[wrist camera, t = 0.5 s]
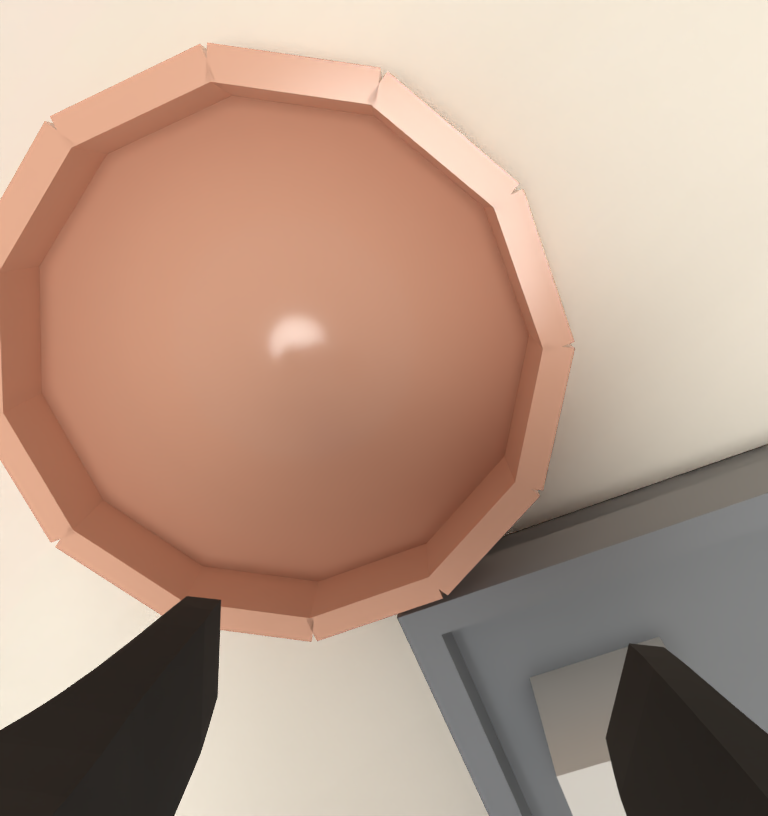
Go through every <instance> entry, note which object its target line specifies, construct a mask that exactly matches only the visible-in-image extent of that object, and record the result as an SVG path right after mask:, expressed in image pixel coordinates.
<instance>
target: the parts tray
mask: <svg viewBox="0 0 768 816" xmlns="http://www.w3.org/2000/svg"><path fill="white" fill-rule="evenodd" d="M442 596H443V599H440V600H437V601H434V602H431V603H428V604H425V605H422V606H419V607H416V608H413V609H410V610H407V611H404V612H402V613H399V614H397V618H398V621H399V623H400V625H401V627H402V629H403V631H404V633H405V636H406V638H407V640H408V642H409V644H410V646H411V649H412V651H413V653H414V655H415V657H416V659H417V661H418V664H419V666H420V668H421V670H422V672H423V674H424V677H425V679H426V681H427V683H428V685H429V687H430V689H431V692H432V694H433V696H434V698H435V700H436V702H437V705H438V707H439V709H440V711H441V713H442V715H443V717H444V720H445V722H446V724H447V726H448V728H449V730H450V733H451V735H452V737H453V739H454V741H455V743H456V745H457V748H458V750H459V752H460V754H461V756H462V758H463V761H464V763H465V765H466V767H467V769H468V771H469V773H470V776H471V778H472V780H473V782H474V784H475V786H476V789H477V791H478V793H479V795H480V797H481V799H482V801H483V804H484V806H485V808H486V810H487V812H488V814H489V816H573V815H572V812H571V810H570V807H569V805H568V803H567V800H566V798H565V795H564V793H563V791H562V788H561V786H560V784H559V781H558V779H557V776H556V773H555V769H554V765H553V762H552V758H551V754H550V751H549V747H548V743H547V739H546V736H545V732H544V728H543V725H542V721H541V717H540V714H539V710H538V706H537V703H536V699H535V695H534V692H533V688H532V684H531V681H530V677H533V676H537V675H540V674H543V673H546V672H549V671H552V670H556V669H559V668H562V667H565V666H568V665H571V664H574V663H578V662H581V661H584V660H587V659H590V658H593V657H597V656H600V655H603V654H606V653H609V652H612V651H616V650H619V649H622V648H625V647H628V645H629V643H631V644H638V643H641V642H644V641H647V640H650V639H653V638H657V637H660V639H661V640H662V642H663V644H664V645H665V647H666V649H667V650H668V651H670V652H671V653H672V654H674V655H675V656H676V657H677V658H679V659H680V660H681V661H682V662H684V663H685V664H686V665H687V666H688V667H690V668H691V669H692V670H693V671H694V672H695V673H697V674H698V675H699V676H700V677H701V678H703V679H704V680H705V681H706V682H707V683H708V684H710V685H711V686H712V687H713V688H714V689H715V690H717V691H718V692H719V693H720V694H721V695H722V696H724V697H725V698H726V699H727V700H728V701H729V702H731V703H732V704H733V705H734V706H735V707H736V708H738V709H739V710H740V711H741V712H742V713H744V714H745V715H746V716H747V717H748V718H749V719H751V720H752V721H753V722H754V723H755V724H757V725H758V726H759V727H760V728H761V729H763V730H764V731H765V732H766V733H768V445H765V446H762V447H760V448H757V449H754V450H751V451H748V452H745V453H742V454H739V455H737V456H734V457H731V458H728V459H725V460H722V461H719V462H716V463H714V464H711V465H708V466H705V467H702V468H699V469H696V470H693V471H691V472H688V473H685V474H682V475H679V476H676V477H673V478H671V479H668V480H665V481H662V482H659V483H656V484H653V485H650V486H648V487H645V488H642V489H639V490H636V491H633V492H630V493H627V494H625V495H622V496H619V497H616V498H613V499H610V500H607V501H604V502H602V503H599V504H596V505H593V506H590V507H587V508H584V509H581V510H579V511H576V512H573V513H570V514H567V515H564V516H561V517H559V518H556V519H553V520H550V521H547V522H544V523H541V524H538V525H536V526H533V527H530V528H527V529H524V530H521V531H518V532H515V533H513V534H510V535H507V536H504V537H502V538H501V539H500V540H499V541H498V542H497V543H496V544H495V545H494V546H493V547H492V548H491V549H490V550H489V552H488V553H487V554H486V555H485V556H484V557H483V558H482V559H481V560H480V561H479V562H478V563H477V564H476V566H475V567H474V568H473V569H472V570H471V571H470V572H469V573H468V574H467V575H466V576H465V577H464V578H463V579H462V581H461V582H460V583H459V584H458V585H457V586H456V587H455V588H454V589H453V590H452V591H451V592H450V593H449V595H446V594H445V593H444V592H442Z"/></svg>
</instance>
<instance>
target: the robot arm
mask: <svg viewBox="0 0 768 816" xmlns="http://www.w3.org/2000/svg"><path fill="white" fill-rule="evenodd" d="M220 618H221V600H219V599H210V598H201V597H191V596H186V597H185V598H184V599H182V600H181V601H180V602H178V603H177V604H176V605H175V606H173V607H172V608H171V609H170V610H168V611H167V612H166V613H165V614H163V615H162V616H161V617H160V618H159V619H157V620H156V621H155V622H154V623H153V624H151V625H150V626H149V627H148V628H146V629H145V630H144V631H143V632H142V633H140V634H139V635H138V636H137V637H135V638H134V639H133V640H132V641H130V642H129V643H128V644H126V645H125V646H124V647H123V648H121V649H120V650H119V651H117V652H116V653H115V654H114V655H112V656H111V657H110V658H108V659H107V660H106V661H105V662H103V663H102V664H101V665H99V666H98V667H97V668H95V669H94V670H93V671H91V672H90V673H88V674H87V675H85V676H84V677H83V678H81V679H80V680H78V681H77V682H76V683H74V684H73V685H71V686H70V687H68V688H67V689H66V690H64V691H63V692H61V693H60V694H58V695H57V696H56V697H54V698H52V699H51V700H49V701H48V702H46V703H45V704H43V705H42V706H40V707H38V708H37V709H35V710H34V711H32V712H30V713H29V714H27V715H25V716H24V717H22V718H20V719H19V720H17V721H15V722H13V723H12V724H10V725H8V726H7V727H5V728H3V729H2V730H0V816H174V815H175V812H176V810H177V808H178V805H179V803H180V801H181V799H182V796H183V794H184V791H185V789H186V787H187V784H188V782H189V780H190V777H191V775H192V773H193V770H194V768H195V765H196V763H197V761H198V758H199V756H200V753H201V750H202V747H203V744H204V741H205V737H206V734H207V731H208V728H209V724H210V721H211V717H212V714H213V710H214V707H215V703H216V700H217V695H218V669H219V644H220ZM606 742H607V747H608V751H609V755H610V760H611V764H612V769H613V773H614V776H615V780H616V784H617V788H618V792H619V796H620V799H621V802H622V804H623V807H624V810H625V813H626V815H627V816H768V733H766V732H765V731H764V730H763V729H761V728H760V727H759V726H758V725H757V724H755V723H754V722H753V721H752V720H751V719H749V718H748V717H747V716H746V715H745V714H744V713H742V712H741V711H740V710H739V709H738V708H736V707H735V706H734V705H733V704H732V703H731V702H729V701H728V700H727V699H726V698H725V697H724V696H722V695H721V694H720V693H719V692H718V691H717V690H715V689H714V688H713V687H712V686H711V685H710V684H708V683H707V682H706V681H705V680H704V679H703V678H701V677H700V676H699V675H698V674H697V673H695V672H694V671H693V670H692V669H691V668H690V667H688V666H687V665H686V664H685V663H684V662H682V661H681V660H680V659H679V658H677V657H676V656H675V655H674V654H672V653H671V652H670V651H668V650H667V649H666V648H664V647H659V646H649V645H640V644H631V643H629V645H628V649H627V653H626V657H625V661H624V665H623V670H622V674H621V678H620V682H619V686H618V690H617V694H616V698H615V702H614V706H613V710H612V714H611V718H610V722H609V726H608V730H607V734H606Z"/></svg>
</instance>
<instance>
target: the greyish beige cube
mask: <svg viewBox="0 0 768 816" xmlns="http://www.w3.org/2000/svg"><path fill="white" fill-rule="evenodd" d="M638 644H640V645H649V646H659V647H664V648H666V647H665V645H664V644H663V642H662V640H661V639H660V637H657V638H653V639H650V640H647V641H644V642H641V643H638ZM627 649H628V647H625V648H622V649H619V650H616V651H612V652H609V653H606V654H603V655H600V656H597V657H593V658H590V659H587V660H584V661H581V662H578V663H574V664H571V665H568V666H565V667H562V668H559V669H556V670H552V671H549V672H546V673H543V674H540V675H537V676H533V677H530V681H531V684H532V688H533V692H534V695H535V699H536V703H537V706H538V710H539V714H540V717H541V721H542V725H543V728H544V732H545V736H546V739H547V743H548V747H549V751H550V754H551V758H552V762H553V765H554V769H555V773H556V776H557V779H558V781H559V784H560V786H561V788H562V791H563V793H564V795H565V798H566V800H567V803H568V805H569V807H570V810H571V812H572V815H573V816H627V815H626V813H625V810H624V807H623V804H622V802H621V799H620V796H619V792H618V788H617V784H616V780H615V776H614V773H613V769H612V764H611V760H610V755H609V751H608V747H607V742H606V734H607V730H608V726H609V722H610V718H611V714H612V710H613V706H614V702H615V698H616V694H617V690H618V686H619V682H620V678H621V674H622V670H623V665H624V661H625V657H626V653H627Z"/></svg>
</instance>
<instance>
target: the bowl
mask: <svg viewBox="0 0 768 816" xmlns="http://www.w3.org/2000/svg"><path fill="white" fill-rule="evenodd" d="M50 117H51V119H52V121H53V123H50V122H46V121H45V122H44V124H43V125H42V127H41V129H40V131H39V132H38V134H37V136H36V138H35V139H34V141H33V143H32V145H31V147H30V148H29V150H28V152H27V154H26V155H25V157H24V159H23V161H22V162H21V164H20V166H19V168H18V169H17V171H16V173H15V175H14V177H13V178H12V180H11V182H10V184H9V185H8V187H7V189H6V191H5V192H4V194H3V196H2V198H1V200H0V460H1V462H2V463H3V465H4V467H5V468H6V470H7V472H8V473H9V475H10V476H11V478H12V480H13V481H14V483H15V485H16V486H17V488H18V490H19V491H20V493H21V494H22V496H23V498H24V499H25V501H26V503H27V504H28V506H29V508H30V509H31V511H32V513H33V514H34V516H35V517H36V519H37V521H38V522H39V524H40V526H41V527H42V529H43V531H44V532H45V534H46V535H47V537H48V539H49V540H50V542H54V541H56V540H59V539H60V541H59V542H58V544H57V545H56V548H57V549H59V550H61V551H62V552H64V553H65V554H67V555H68V556H70V557H72V558H73V559H75V560H76V561H78V562H79V563H81V564H82V565H84V566H86V567H87V568H89V569H90V570H92V571H93V572H95V573H96V574H98V575H100V576H101V577H103V578H104V579H106V580H107V581H109V582H110V583H112V584H114V585H115V586H117V587H118V588H120V589H121V590H123V591H124V592H126V593H128V594H129V595H131V596H132V597H134V598H135V599H137V600H139V601H140V602H142V603H143V604H145V605H146V606H148V607H149V608H151V609H153V610H154V611H156V612H157V613H159V614H160V615H163V614H165V613H166V612H167V611H168V610H170V609H171V608H172V607H173V606H175V605H176V604H177V603H178V602H180V601H181V600H182V599H184V598H185V597H186V596H191V597H201V598H210V599H219V600H221V618H220V630H226V631H233V632H241V633H249V634H256V635H264V636H271V637H279V638H287V639H294V640H302V641H310V642H311V641H312V636H313V634H314V636H315V638H316V640H317V641H319V640H322V639H325V638H328V637H331V636H334V635H337V634H340V633H343V632H346V631H348V630H351V629H354V628H357V627H360V626H363V625H366V624H369V623H372V622H375V621H378V620H381V619H384V618H387V617H390V616H393V615H396V614H399V613H402V612H404V611H407V610H410V609H413V608H416V607H419V606H422V605H425V604H428V603H431V602H434V601H437V600H440V599H443V596H442V592H444V593H445V594H446V595H449V593H450V592H451V591H452V590H453V589H454V588H455V587H456V586H457V585H458V584H459V583H460V582H461V581H462V579H463V578H464V577H465V576H466V575H467V574H468V573H469V572H470V571H471V570H472V569H473V568H474V567H475V566H476V564H477V563H478V562H479V561H480V560H481V559H482V558H483V557H484V556H485V555H486V554H487V553H488V552H489V550H490V549H491V548H492V547H493V546H494V545H495V544H496V543H497V542H498V541H499V540H500V539H501V538H502V536H503V535H504V534H505V533H506V532H507V531H508V530H509V529H510V528H511V527H512V526H513V525H514V524H515V522H516V521H517V520H518V519H519V518H520V517H521V516H522V515H523V514H524V513H525V512H526V511H527V510H528V508H529V507H530V506H531V505H532V504H533V503H534V502H535V501H536V500H537V499H538V498H539V497H540V495H539V492H538V490H543V489H544V484H545V480H546V475H547V471H548V466H549V462H550V457H551V453H552V448H553V444H554V439H555V435H556V430H557V426H558V421H559V417H560V413H561V408H562V404H563V399H564V395H565V390H566V386H567V381H568V377H569V372H570V368H571V363H572V359H573V354H574V350H575V348H574V347H573V346H571V345H570V343H572V342H574V339H573V336H572V333H571V330H570V327H569V324H568V321H567V318H566V315H565V312H564V309H563V306H562V303H561V300H560V297H559V294H558V291H557V288H556V285H555V282H554V279H553V276H552V273H551V270H550V267H549V264H548V261H547V258H546V255H545V252H544V249H543V246H542V243H541V240H540V237H539V234H538V231H537V228H536V225H535V222H534V219H533V216H532V213H531V210H530V207H529V204H528V201H527V198H526V195H525V192H524V189H522V190H515V188H516V187H517V186H518V185H519V182H518V181H517V180H515V179H514V178H513V177H512V176H511V175H509V174H508V173H507V172H506V171H505V170H504V169H502V168H501V167H500V166H499V165H498V164H497V163H495V162H494V161H493V160H492V159H491V158H489V157H488V156H487V155H486V154H485V153H484V152H482V151H481V150H480V149H479V148H478V147H477V146H475V145H474V144H473V143H472V142H471V141H469V140H468V139H467V138H466V137H465V136H464V135H462V134H461V133H460V132H459V131H458V130H457V129H455V128H454V127H453V126H452V125H451V124H449V123H448V122H447V121H446V120H445V119H444V118H442V117H441V116H440V115H439V114H438V113H437V112H435V111H434V110H433V109H432V108H431V107H429V106H428V105H427V104H426V103H425V102H424V101H422V100H421V99H420V98H419V97H418V96H417V95H415V94H414V93H413V92H412V91H411V90H409V89H408V88H407V87H406V86H405V85H404V84H402V83H401V82H400V81H399V80H398V79H397V78H395V77H394V76H393V75H392V74H391V73H389V72H388V71H387V72H386V74H385V75H384V77H383V78H382V74H381V68H379V67H372V66H365V65H358V64H352V63H345V62H338V61H331V60H324V59H317V58H310V57H303V56H296V55H289V54H282V53H275V52H268V51H261V50H254V49H248V48H241V47H234V46H227V45H220V44H213V43H207V49H206V48H204V47H203V46H202V45H201V44H199V45H197V46H194V47H192V48H190V49H188V50H186V51H184V52H182V53H180V54H178V55H176V56H174V57H172V58H170V59H168V60H166V61H163V62H161V63H159V64H157V65H155V66H153V67H151V68H149V69H147V70H145V71H143V72H141V73H139V74H137V75H134V76H132V77H130V78H128V79H126V80H124V81H122V82H120V83H118V84H116V85H114V86H112V87H110V88H108V89H106V90H103V91H101V92H99V93H97V94H95V95H93V96H91V97H89V98H87V99H85V100H83V101H81V102H79V103H77V104H75V105H72V106H70V107H68V108H66V109H64V110H62V111H60V112H58V113H56V114H54V115H52V116H50ZM514 190H515V191H514Z"/></svg>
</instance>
